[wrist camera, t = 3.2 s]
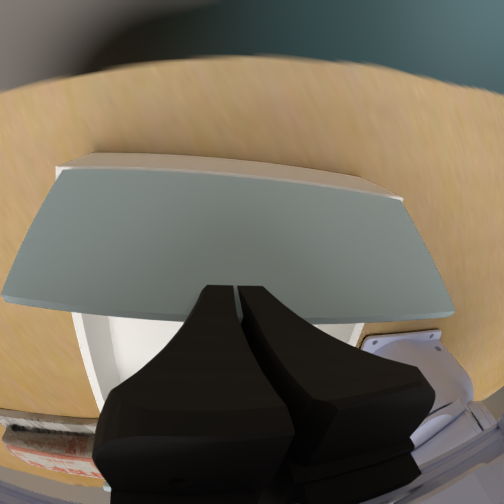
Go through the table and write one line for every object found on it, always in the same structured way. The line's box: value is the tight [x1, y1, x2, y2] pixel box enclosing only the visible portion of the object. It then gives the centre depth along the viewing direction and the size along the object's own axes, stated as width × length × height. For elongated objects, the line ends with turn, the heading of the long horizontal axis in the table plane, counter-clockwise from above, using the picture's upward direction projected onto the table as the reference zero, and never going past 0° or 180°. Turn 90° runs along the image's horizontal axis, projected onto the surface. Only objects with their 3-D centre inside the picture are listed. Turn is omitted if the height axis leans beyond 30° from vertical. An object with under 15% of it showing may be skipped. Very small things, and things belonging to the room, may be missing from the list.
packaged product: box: [0, 408, 104, 479], centre depth 25 cm, size 18×5×10 cm
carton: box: [56, 153, 403, 413], centre depth 19 cm, size 16×21×5 cm
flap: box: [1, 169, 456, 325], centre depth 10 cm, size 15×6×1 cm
